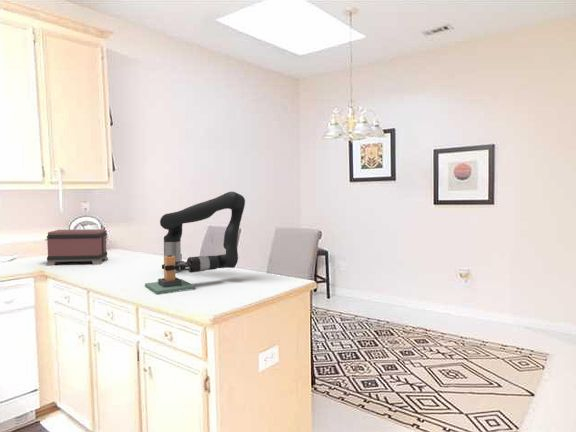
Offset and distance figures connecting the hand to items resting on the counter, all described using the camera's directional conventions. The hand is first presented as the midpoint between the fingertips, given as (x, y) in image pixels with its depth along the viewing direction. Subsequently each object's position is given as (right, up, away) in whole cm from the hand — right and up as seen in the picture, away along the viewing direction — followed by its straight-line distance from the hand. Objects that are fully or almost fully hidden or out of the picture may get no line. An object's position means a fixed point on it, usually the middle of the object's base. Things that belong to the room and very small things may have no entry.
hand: (163, 267), depth 187 cm
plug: (+2, -7, +2) cm, 8 cm away
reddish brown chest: (-77, -6, +68) cm, 103 cm away
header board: (+2, -10, +2) cm, 10 cm away
